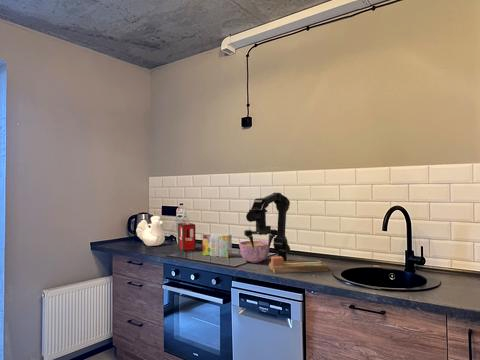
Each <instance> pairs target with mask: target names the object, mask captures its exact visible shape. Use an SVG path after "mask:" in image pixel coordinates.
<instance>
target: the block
mask: <svg viewBox="0 0 480 360" xmlns="http://www.w3.org/2000/svg"><path fill="white" fill-rule="evenodd" d="M270 262H271V264H272V265H273V266H284V258H282V257H281V256H278V255H277V256H271V257H270Z"/></svg>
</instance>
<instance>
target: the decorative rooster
mask: <svg viewBox="0 0 480 360" xmlns="http://www.w3.org/2000/svg"><path fill="white" fill-rule="evenodd" d="M150 221H151V223H148V222H147V220H145V219H142V220H141V221H140V222H139V223H138V224H137V226H136V227H137V228H136V229H135V231H136V235H137V237H138V238H139V239H140V240H141V241H142V242H143V243H144V244H145V245H146V246H147V247H154V246H155V247H156V246H161V245H162V244H163V243H164V242H165V239H166V237H165V232H164V230H163V225H164V224H163V223H164V221H162V219H161V216H160V215H159V216H158V215H154V216H151V217H150ZM149 226H150V227H149Z"/></svg>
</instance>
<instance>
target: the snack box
mask: <svg viewBox="0 0 480 360" xmlns="http://www.w3.org/2000/svg"><path fill="white" fill-rule="evenodd" d="M232 237H233V234H229V233H228V234H226V233H223V234H222V233H212V232H211V233H207V232H206V233H202V256H206V255H210V256H209V257H216V256H219V258H225V257H226V258H227V259H228V258H233V257H232V254H233V253H232V252H233V251H232V249H233V248H232V245H233V243H232V241H233V240H232V239H233V238H232Z"/></svg>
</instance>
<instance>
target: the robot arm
mask: <svg viewBox="0 0 480 360" xmlns="http://www.w3.org/2000/svg"><path fill="white" fill-rule="evenodd" d="M271 203H274V204H275V208H276V210H277V212H278V215H277V229H275V228H272V227H271V225H267V220H266V218H267V217H266V216H267V213H268V210H267V208H268V207H269V205H270V204H271ZM290 204H291V202H290V200H289V198H288V197H286V196H285V195H283V194H282V193H281V192H273V193H271V194H269V195H266V196H264V197H259V198H255V199H254V200H253V202H252V205H251V207H250V208H249V210H248V212H247V213H246V217H245V218H246V221H248V222H250V223H252V222H255V230H251V229H245V230H244V231H243V235H244V237H247V238H248V239H249V241H251V244H252V247H253V248H254V244H253V241H254V236H253V235H259V236H266V235H268V241H267V242H268V246H269V249H271V248H270V247H271V244H273V249H274V252H277V257H278V256H281V257H282V258H284V261H289V260H288V253H290V252H291V247H290V245H289V243H288V238H287V236H286V224H287V223H286V221H287V212H288V211H289V209H290ZM271 228H272V229H271ZM272 242H273V243H272Z"/></svg>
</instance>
